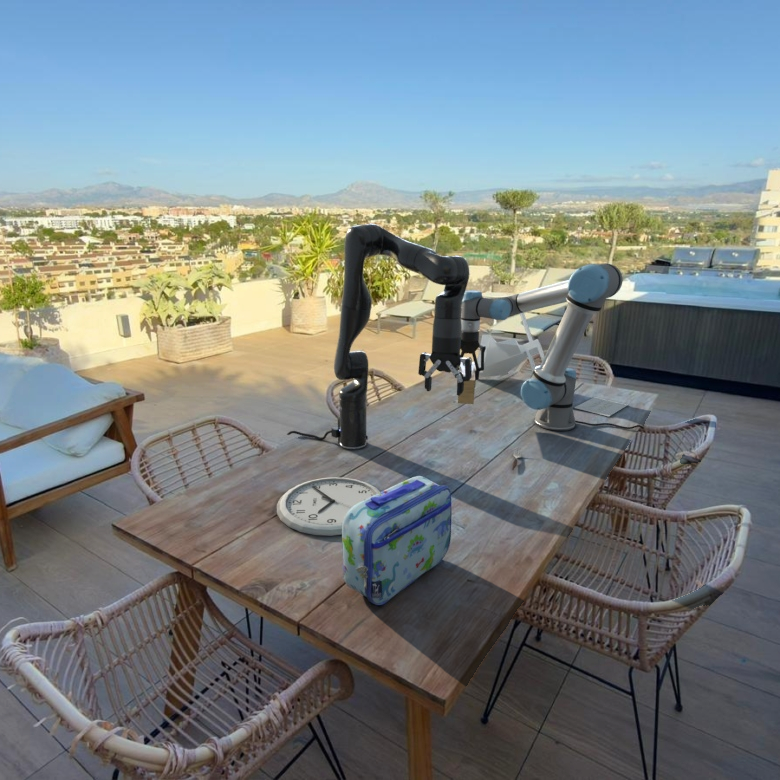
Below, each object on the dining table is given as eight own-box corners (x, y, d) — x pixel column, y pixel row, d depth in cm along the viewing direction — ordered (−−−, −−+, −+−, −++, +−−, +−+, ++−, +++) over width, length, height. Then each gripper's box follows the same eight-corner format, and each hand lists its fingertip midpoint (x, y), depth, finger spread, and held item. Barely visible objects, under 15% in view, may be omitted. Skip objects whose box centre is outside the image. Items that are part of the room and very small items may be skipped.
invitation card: (608, 416, 214) (573, 407, 224) (608, 416, 214) (573, 408, 224) (628, 404, 229) (594, 396, 238) (628, 405, 229) (594, 397, 238)
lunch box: (371, 618, 102) (371, 524, 95) (336, 591, 109) (334, 502, 103) (455, 562, 119) (460, 479, 113) (420, 542, 126) (423, 463, 120)
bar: (459, 384, 218) (460, 362, 215) (473, 385, 217) (474, 363, 214) (457, 403, 195) (459, 379, 192) (473, 404, 194) (475, 380, 191)
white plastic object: (488, 420, 264) (468, 397, 239) (469, 347, 286) (449, 319, 261) (560, 396, 252) (546, 369, 227) (534, 322, 274) (519, 290, 249)
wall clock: (392, 527, 129) (268, 531, 127) (391, 533, 130) (269, 537, 127) (383, 473, 158) (282, 475, 155) (383, 478, 158) (282, 480, 156)
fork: (508, 471, 164) (508, 465, 164) (514, 451, 179) (515, 446, 178) (516, 472, 164) (517, 466, 163) (522, 452, 178) (523, 447, 177)
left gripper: (416, 334, 137) (414, 393, 142) (469, 339, 132) (466, 400, 137) (425, 329, 144) (423, 385, 148) (476, 334, 139) (472, 392, 143)
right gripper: (445, 331, 205) (442, 387, 212) (494, 333, 203) (489, 390, 209) (446, 327, 212) (443, 382, 219) (493, 329, 210) (489, 384, 217)
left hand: (443, 392), depth 143 cm, fingers open, 8 cm apart
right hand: (466, 385), depth 214 cm, fingers closed on bar, 6 cm apart
